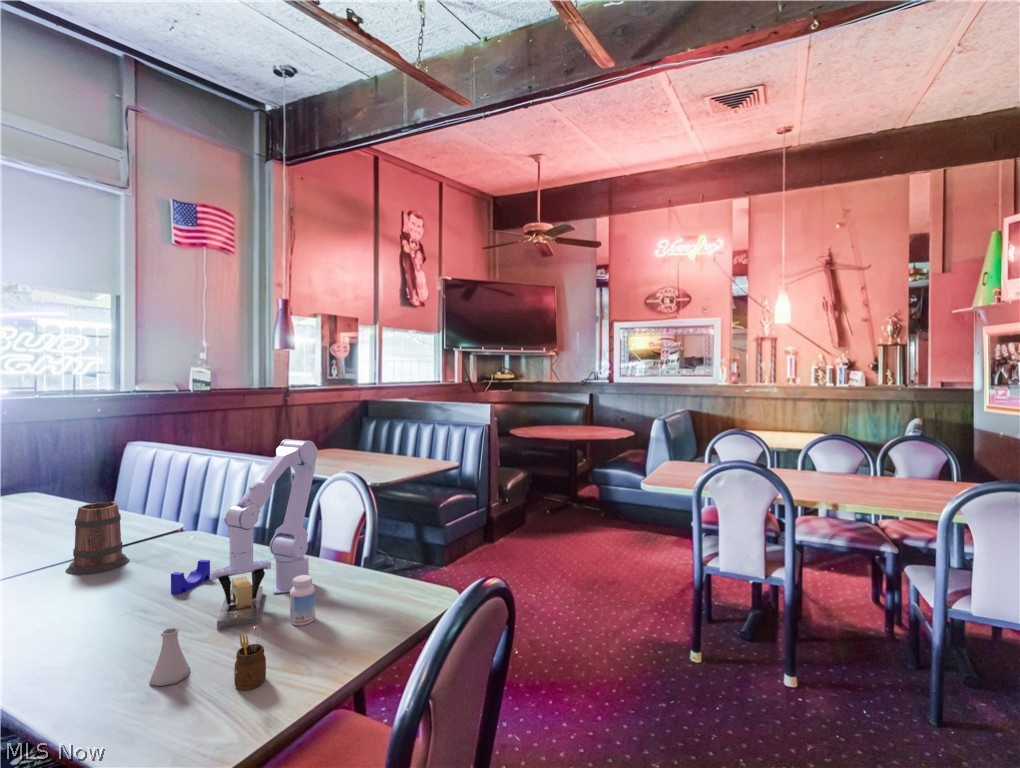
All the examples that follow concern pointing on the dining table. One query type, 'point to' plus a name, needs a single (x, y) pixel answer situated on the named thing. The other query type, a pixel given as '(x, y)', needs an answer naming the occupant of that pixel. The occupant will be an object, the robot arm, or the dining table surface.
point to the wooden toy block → (241, 592)
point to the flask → (170, 661)
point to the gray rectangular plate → (239, 613)
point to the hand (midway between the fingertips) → (241, 600)
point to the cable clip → (190, 578)
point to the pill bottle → (302, 601)
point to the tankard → (97, 540)
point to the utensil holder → (249, 665)
